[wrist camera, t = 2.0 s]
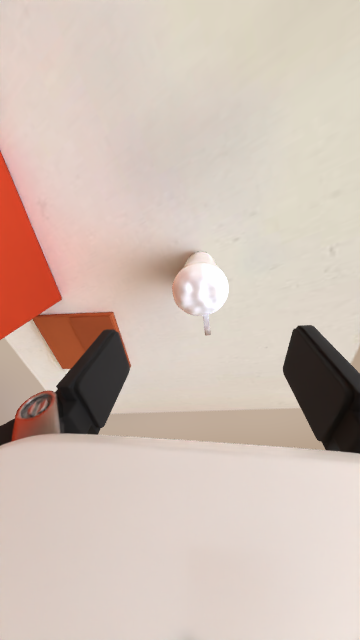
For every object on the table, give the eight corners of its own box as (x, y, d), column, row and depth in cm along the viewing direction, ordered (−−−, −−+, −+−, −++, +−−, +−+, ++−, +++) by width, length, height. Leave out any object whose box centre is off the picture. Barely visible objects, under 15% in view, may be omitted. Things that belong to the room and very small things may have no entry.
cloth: (35, 314, 28) (29, 318, 27) (113, 312, 26) (110, 315, 25) (65, 365, 34) (61, 370, 33) (131, 366, 32) (128, 370, 31)
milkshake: (188, 292, 24) (180, 339, 15) (177, 250, 21) (160, 279, 13) (223, 285, 23) (236, 330, 14) (216, 240, 20) (227, 263, 12)
